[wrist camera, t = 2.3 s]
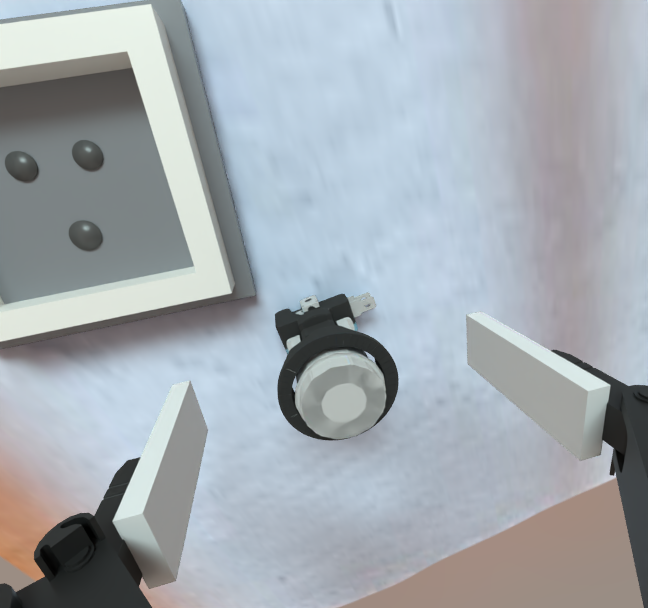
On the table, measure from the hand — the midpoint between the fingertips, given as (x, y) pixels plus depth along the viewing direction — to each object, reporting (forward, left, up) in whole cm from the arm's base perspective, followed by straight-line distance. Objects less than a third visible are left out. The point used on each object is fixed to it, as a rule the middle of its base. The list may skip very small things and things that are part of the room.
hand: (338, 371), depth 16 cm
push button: (0, 0, -8) cm, 8 cm away
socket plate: (+12, -10, -8) cm, 17 cm away
